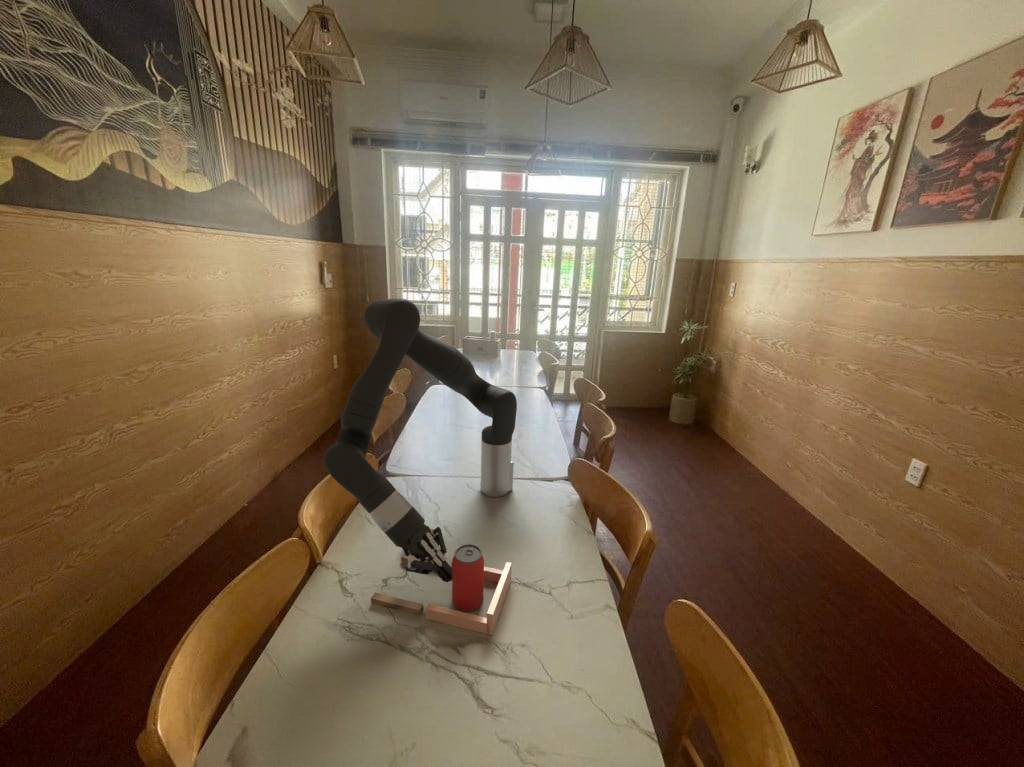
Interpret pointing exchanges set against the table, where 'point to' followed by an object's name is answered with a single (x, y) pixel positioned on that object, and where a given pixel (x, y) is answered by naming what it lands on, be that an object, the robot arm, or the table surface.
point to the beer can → (467, 577)
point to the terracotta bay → (475, 621)
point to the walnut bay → (398, 600)
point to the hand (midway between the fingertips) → (451, 578)
